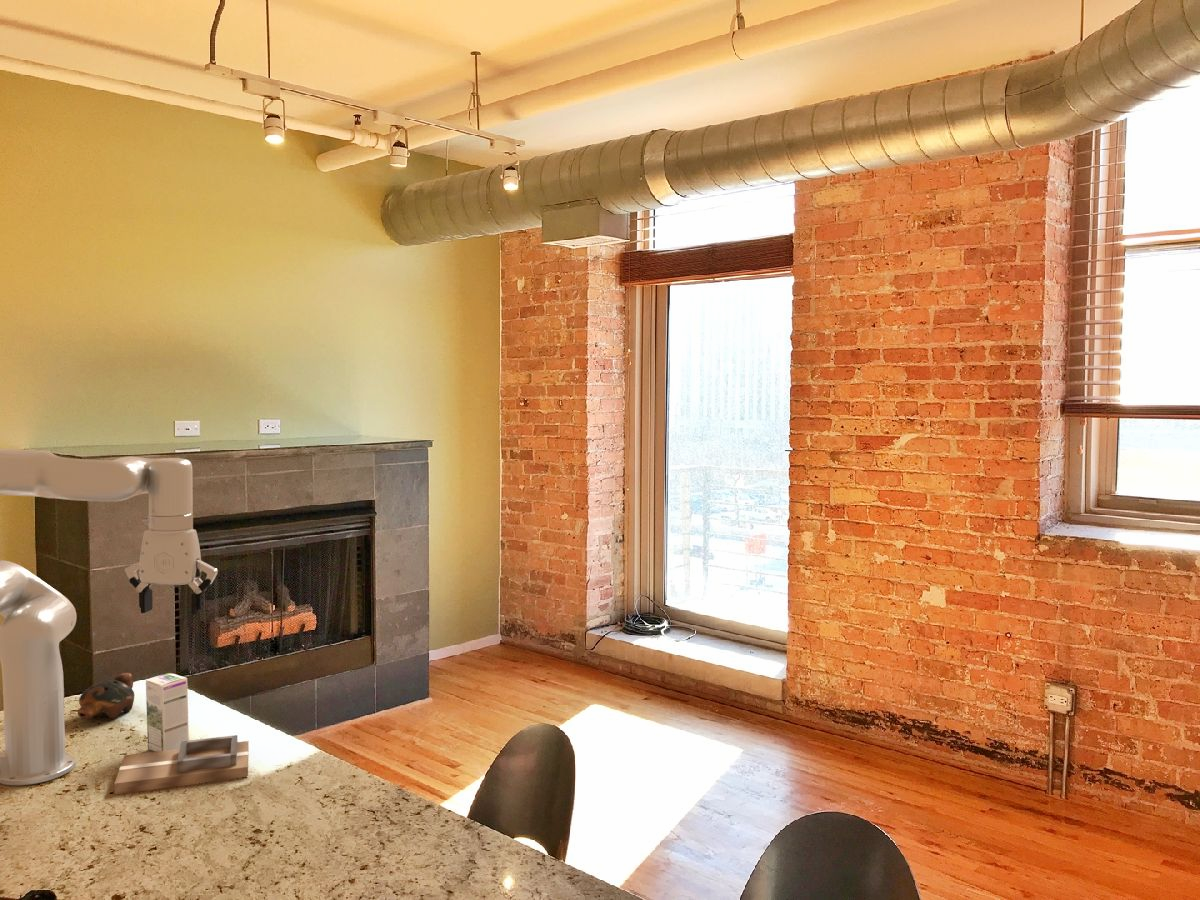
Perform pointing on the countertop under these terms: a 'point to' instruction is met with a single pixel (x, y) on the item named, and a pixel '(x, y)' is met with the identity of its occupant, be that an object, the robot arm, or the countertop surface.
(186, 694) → the syrup box
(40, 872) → the countertop surface
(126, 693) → the decorative turtle
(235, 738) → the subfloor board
